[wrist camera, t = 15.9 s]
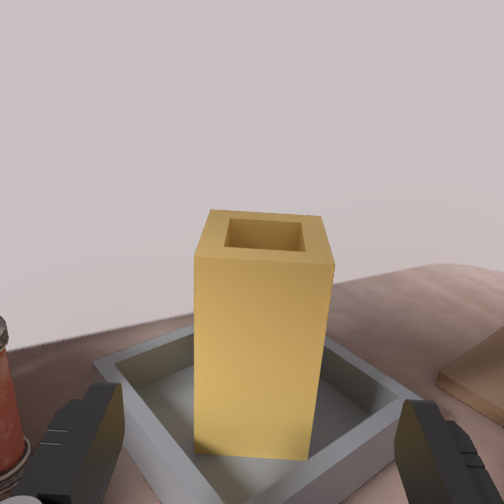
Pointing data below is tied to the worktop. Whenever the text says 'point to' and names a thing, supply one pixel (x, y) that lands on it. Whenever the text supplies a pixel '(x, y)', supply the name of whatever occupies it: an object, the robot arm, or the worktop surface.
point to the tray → (250, 468)
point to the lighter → (10, 424)
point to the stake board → (479, 378)
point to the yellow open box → (259, 332)
